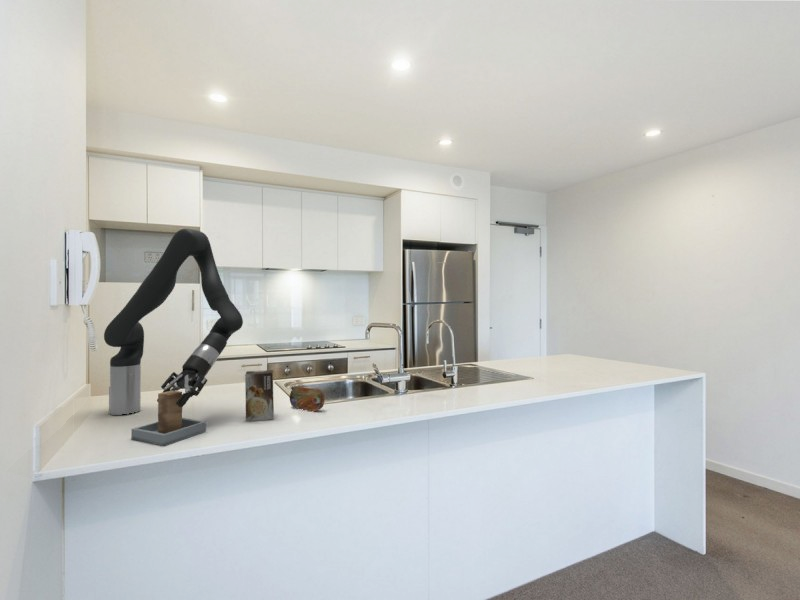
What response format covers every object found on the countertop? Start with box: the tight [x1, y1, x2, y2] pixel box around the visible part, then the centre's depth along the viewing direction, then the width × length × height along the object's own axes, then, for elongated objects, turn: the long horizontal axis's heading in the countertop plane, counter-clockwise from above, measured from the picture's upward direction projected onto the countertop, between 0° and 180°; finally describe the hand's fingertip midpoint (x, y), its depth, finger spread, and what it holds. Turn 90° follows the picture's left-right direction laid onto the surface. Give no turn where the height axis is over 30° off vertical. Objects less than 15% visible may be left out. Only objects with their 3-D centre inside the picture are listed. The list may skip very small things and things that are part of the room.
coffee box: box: [244, 369, 275, 422], centre depth 142 cm, size 9×6×16 cm
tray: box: [130, 417, 207, 447], centre depth 124 cm, size 14×14×3 cm
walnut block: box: [157, 390, 183, 434], centre depth 124 cm, size 4×4×12 cm
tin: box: [289, 386, 325, 412], centre depth 153 cm, size 15×3×8 cm, turn 62°
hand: (169, 404), depth 123 cm, fingers open, 8 cm apart
